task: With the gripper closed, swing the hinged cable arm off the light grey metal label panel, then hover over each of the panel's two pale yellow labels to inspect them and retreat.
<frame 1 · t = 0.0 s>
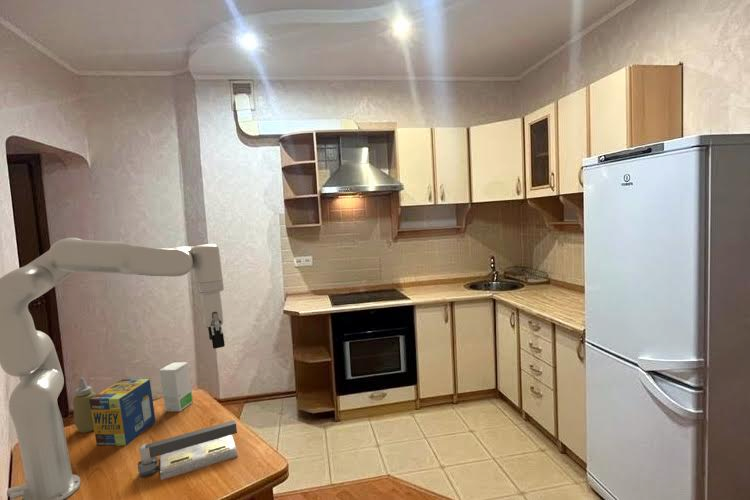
hand: (217, 342, 132), 31 cm above the table, tool pointing down, fingers open, 9 cm apart
squeeze bottle: (90, 429, 151), on the table
label panel: (199, 457, 129), on the table
skincare box: (179, 407, 163), on the table
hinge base: (149, 472, 123), on the table
protein box: (127, 433, 146), on the table
cable arm: (190, 441, 127), point 5 cm above the table, hinge at 0.0°
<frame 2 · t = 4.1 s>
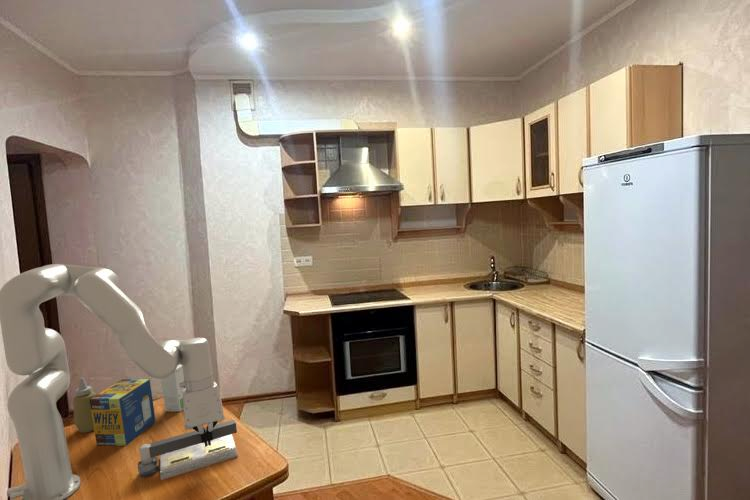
hand: (207, 443, 127), 5 cm above the table, tool pointing down, fingers closed
cable arm: (190, 441, 127), point 5 cm above the table, hinge at 0.8°, touching gripper
everything else where it was.
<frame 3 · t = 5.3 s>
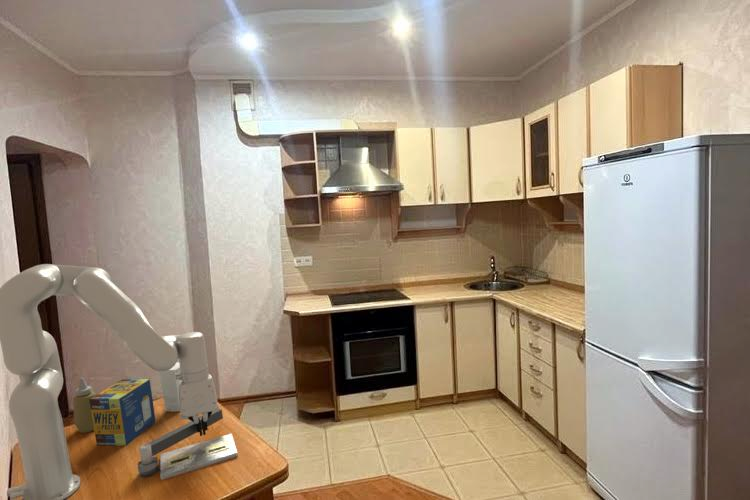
hand: (202, 433, 133), 4 cm above the table, tool pointing down, fingers closed
cable arm: (183, 434, 132), point 5 cm above the table, hinge at 29.9°, touching gripper
everything else where it was.
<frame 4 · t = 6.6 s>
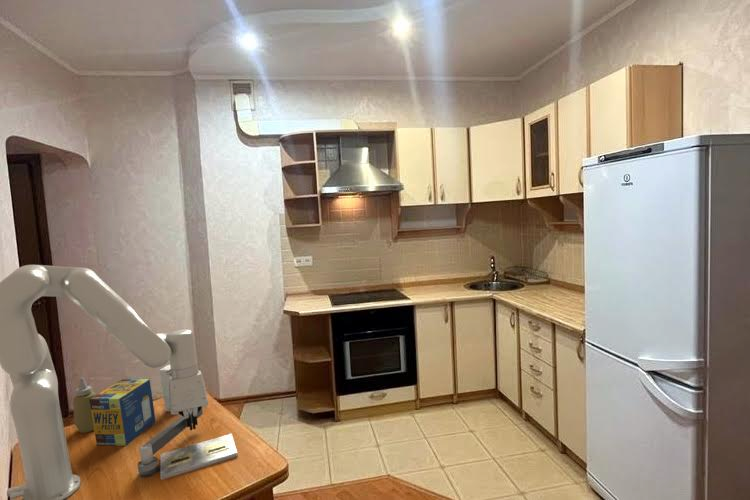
hand: (192, 427, 137), 5 cm above the table, tool pointing down, fingers closed
cable arm: (173, 432, 133), point 5 cm above the table, hinge at 51.4°, touching gripper
everything else where it was.
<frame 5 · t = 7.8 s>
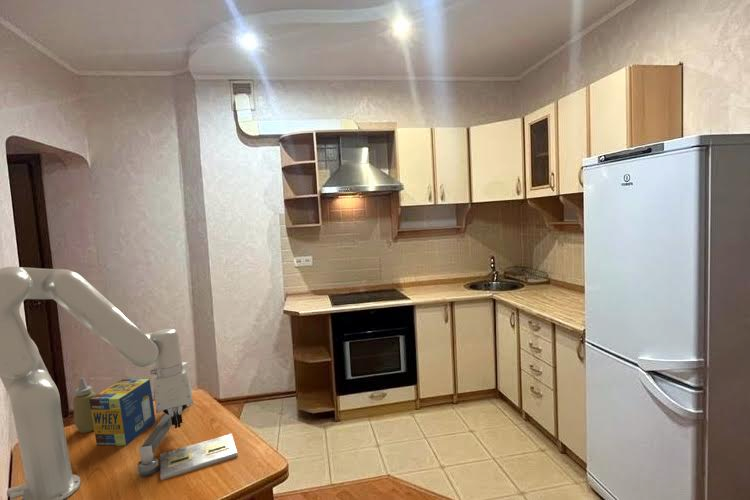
hand: (177, 425, 139), 5 cm above the table, tool pointing down, fingers closed
cable arm: (160, 432, 134), point 5 cm above the table, hinge at 71.4°, touching gripper
everything else where it was.
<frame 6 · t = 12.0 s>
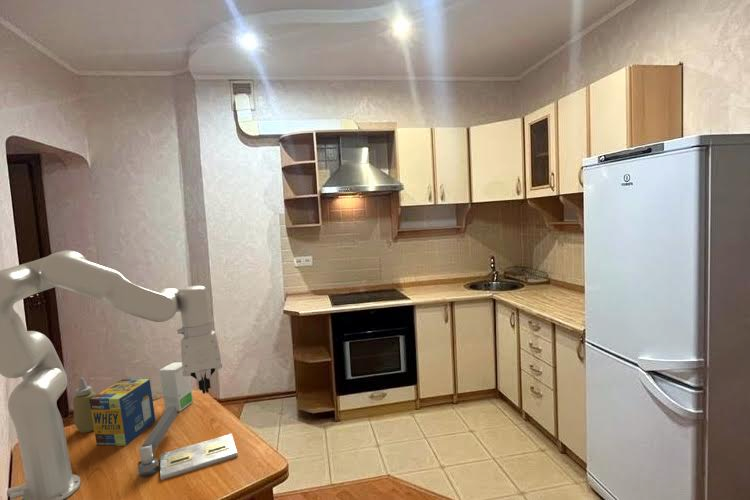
hand: (205, 391, 128), 19 cm above the table, tool pointing down, fingers closed
cable arm: (160, 432, 134), point 5 cm above the table, hinge at 72.5°
everything else where it was.
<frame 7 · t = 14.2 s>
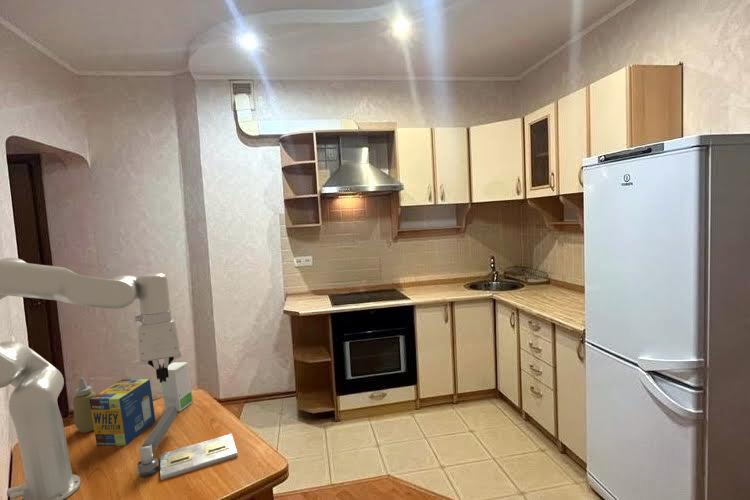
hand: (163, 380, 127), 24 cm above the table, tool pointing down, fingers closed
nothing on the table moved.
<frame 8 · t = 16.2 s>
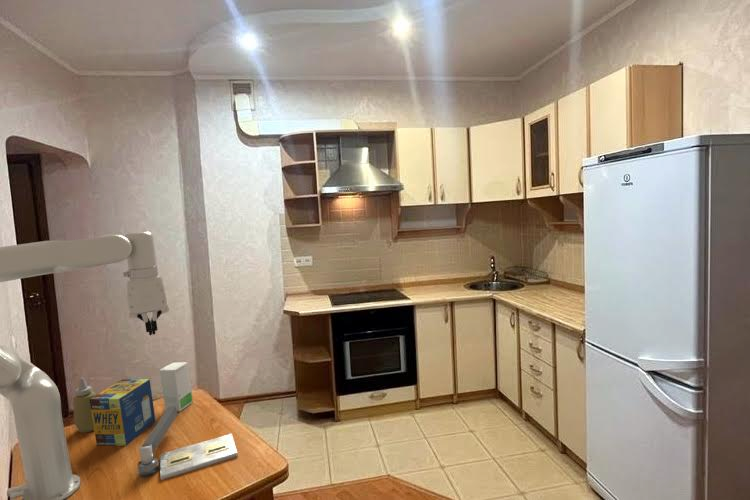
hand: (152, 333, 134), 35 cm above the table, tool pointing down, fingers closed
nothing on the table moved.
at the end: cable arm at +72° (first picture: +0°) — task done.
